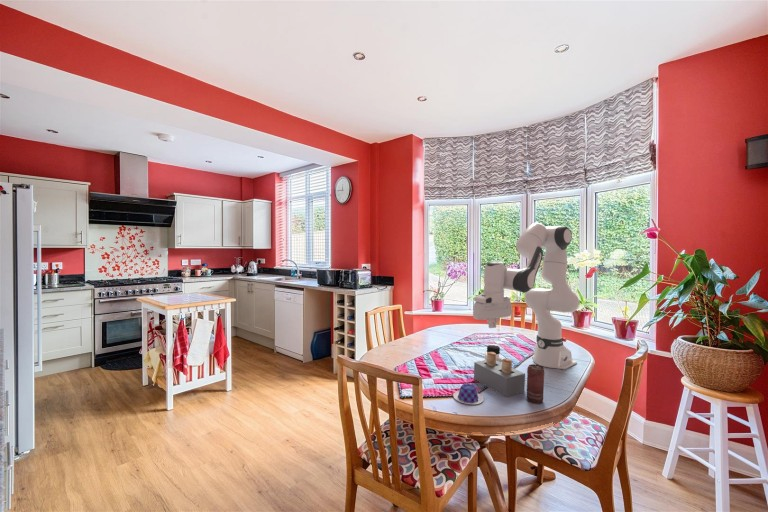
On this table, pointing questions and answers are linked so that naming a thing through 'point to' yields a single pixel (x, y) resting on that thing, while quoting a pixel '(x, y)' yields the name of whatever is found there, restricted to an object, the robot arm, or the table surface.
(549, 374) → the table surface
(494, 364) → the peg
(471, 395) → the pudding
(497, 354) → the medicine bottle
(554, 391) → the table surface
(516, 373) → the block
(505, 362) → the peg
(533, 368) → the can
